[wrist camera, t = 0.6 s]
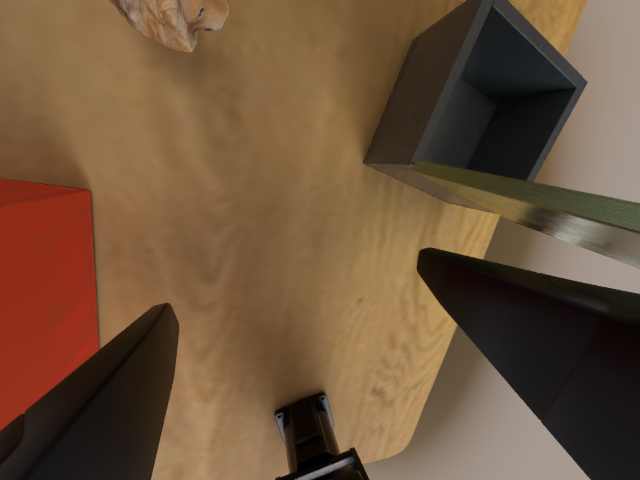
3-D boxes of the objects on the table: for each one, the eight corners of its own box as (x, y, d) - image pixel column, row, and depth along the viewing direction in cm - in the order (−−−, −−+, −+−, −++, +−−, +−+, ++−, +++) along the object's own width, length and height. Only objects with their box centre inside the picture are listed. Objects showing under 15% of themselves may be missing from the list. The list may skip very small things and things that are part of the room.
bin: (413, 38, 21) (490, -19, 14) (498, 102, 25) (588, 81, 19) (363, 163, 23) (409, 164, 17) (448, 203, 27) (514, 217, 21)
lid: (723, 218, 5) (694, 249, 6) (813, 309, 10) (793, 325, 10) (417, 158, 16) (410, 170, 16) (522, 214, 20) (516, 223, 20)
